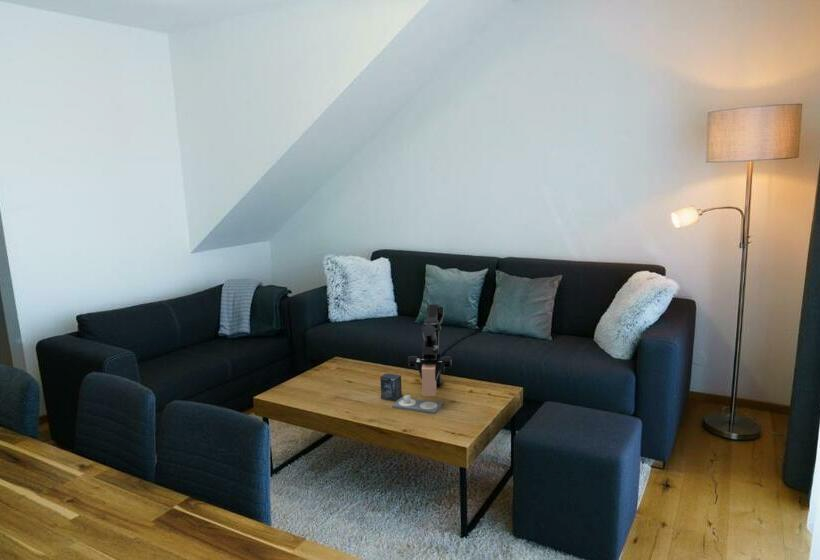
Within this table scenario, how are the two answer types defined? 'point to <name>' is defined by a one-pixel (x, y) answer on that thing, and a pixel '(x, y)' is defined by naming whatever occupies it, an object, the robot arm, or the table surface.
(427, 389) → the pink block
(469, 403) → the table surface
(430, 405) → the plate
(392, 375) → the box
